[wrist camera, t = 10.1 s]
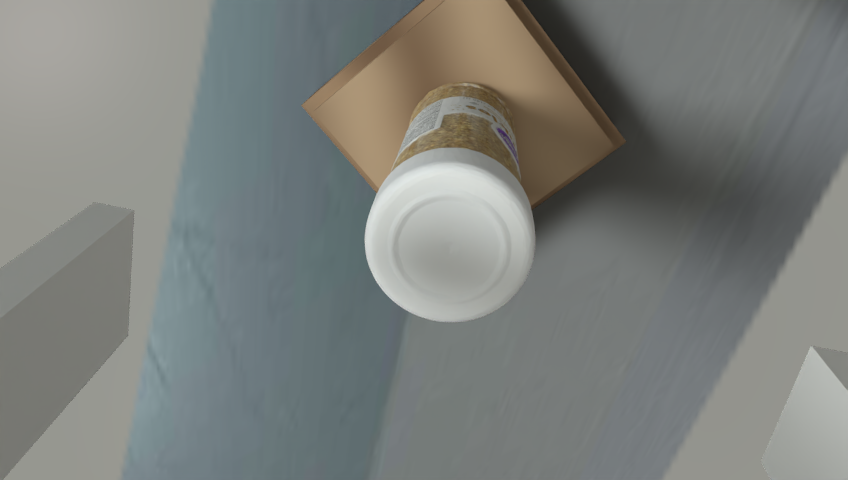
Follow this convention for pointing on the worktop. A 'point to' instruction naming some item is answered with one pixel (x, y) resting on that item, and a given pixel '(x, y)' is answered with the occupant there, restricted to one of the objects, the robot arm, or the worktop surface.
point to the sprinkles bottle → (453, 210)
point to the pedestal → (467, 62)
